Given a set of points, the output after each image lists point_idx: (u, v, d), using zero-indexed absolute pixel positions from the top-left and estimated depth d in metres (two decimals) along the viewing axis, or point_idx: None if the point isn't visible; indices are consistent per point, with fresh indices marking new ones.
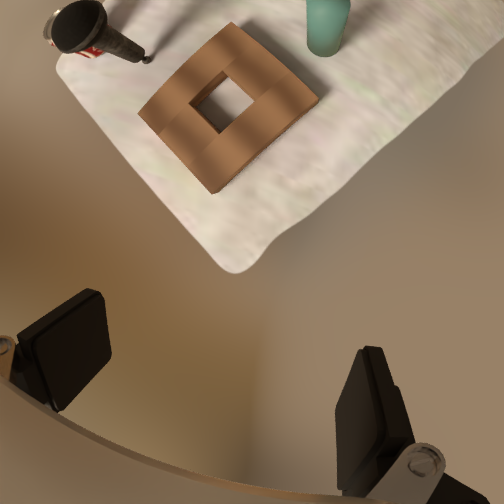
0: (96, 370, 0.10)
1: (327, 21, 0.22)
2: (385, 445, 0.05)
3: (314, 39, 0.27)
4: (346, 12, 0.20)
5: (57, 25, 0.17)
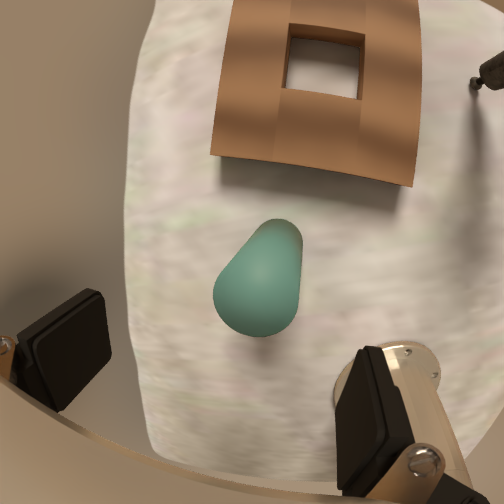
0: (96, 370, 0.10)
1: (234, 258, 0.16)
2: (385, 445, 0.05)
3: (271, 230, 0.21)
4: (214, 297, 0.15)
5: None
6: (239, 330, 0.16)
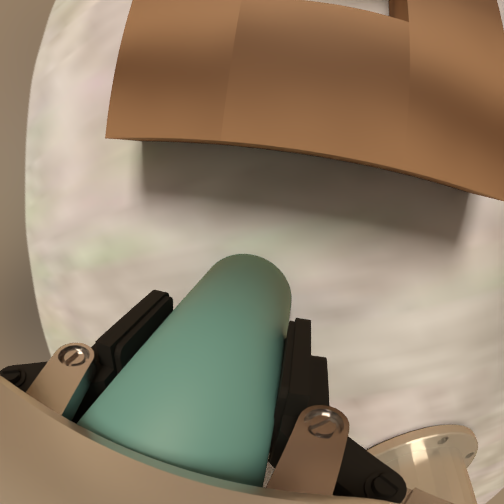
0: None
1: None
2: (287, 402, 0.06)
3: (213, 301, 0.09)
4: None
5: None
6: None
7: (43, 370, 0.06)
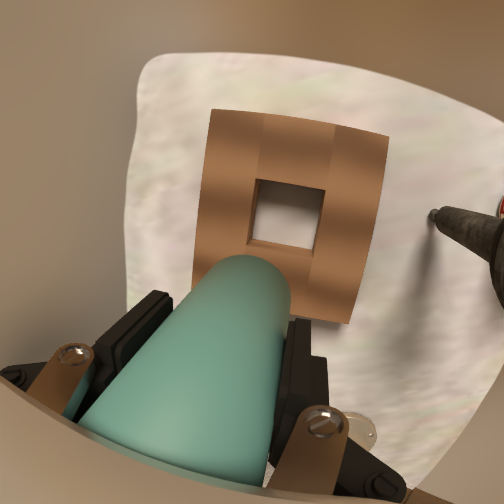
0: None
1: None
2: (287, 402, 0.06)
3: (212, 302, 0.09)
4: None
5: None
6: None
7: (43, 370, 0.06)
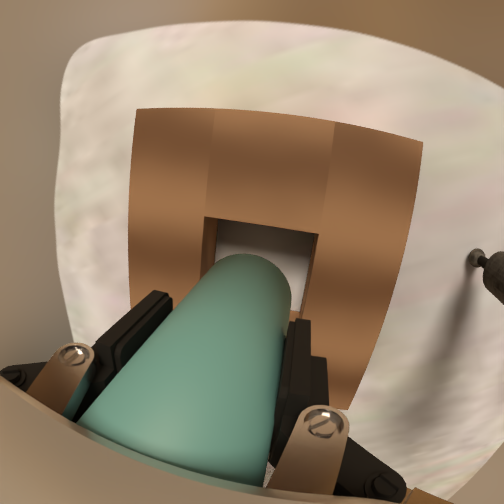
0: None
1: None
2: (287, 402, 0.06)
3: (212, 300, 0.09)
4: None
5: None
6: None
7: (43, 370, 0.06)
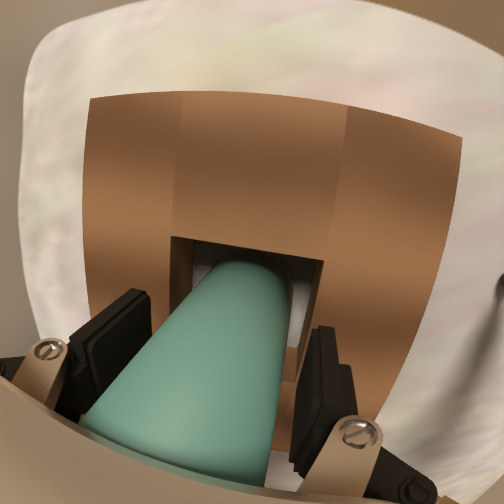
0: None
1: (91, 413, 0.05)
2: (320, 413, 0.06)
3: (221, 289, 0.10)
4: None
5: None
6: None
7: (21, 366, 0.05)
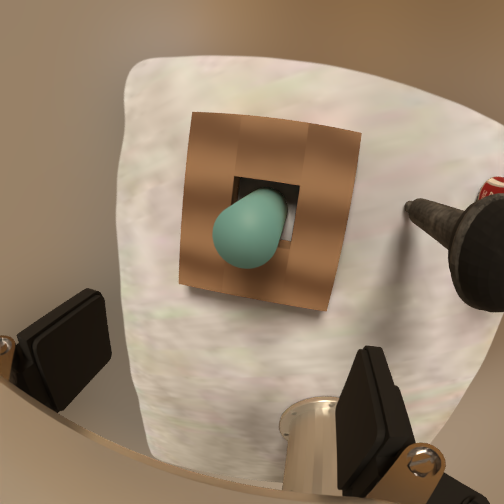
0: (96, 370, 0.10)
1: None
2: (385, 445, 0.05)
3: (259, 192, 0.25)
4: (213, 236, 0.20)
5: None
6: (232, 263, 0.20)
7: None
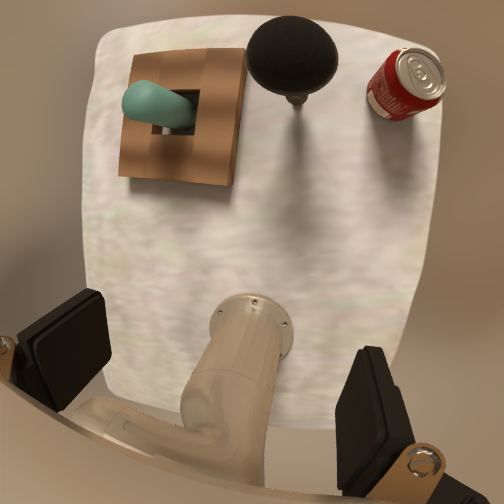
0: (96, 370, 0.10)
1: None
2: (385, 445, 0.05)
3: None
4: (122, 104, 0.26)
5: (286, 28, 0.15)
6: (131, 118, 0.26)
7: None
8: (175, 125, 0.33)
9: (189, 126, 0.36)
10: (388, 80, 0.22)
